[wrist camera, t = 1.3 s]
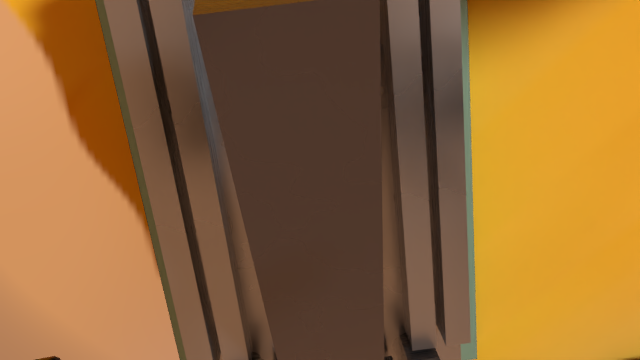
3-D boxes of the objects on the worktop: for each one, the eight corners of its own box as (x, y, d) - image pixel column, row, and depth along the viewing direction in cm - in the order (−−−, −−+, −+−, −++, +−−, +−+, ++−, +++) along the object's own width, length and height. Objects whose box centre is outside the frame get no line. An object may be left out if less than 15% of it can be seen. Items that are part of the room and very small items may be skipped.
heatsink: (440, 343, 23) (485, 444, 18) (221, 373, 23) (203, 484, 18) (417, -84, 18) (472, -112, 13) (133, -50, 18) (72, -64, 12)
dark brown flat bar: (390, 365, 19) (396, 392, 19) (275, 381, 19) (277, 409, 19) (391, -33, 10) (402, -11, 10) (174, -6, 10) (169, 18, 10)
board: (472, 349, 24) (477, 358, 23) (191, 388, 24) (188, 398, 23) (457, -157, 18) (463, -162, 17) (74, -112, 17) (67, -115, 17)
